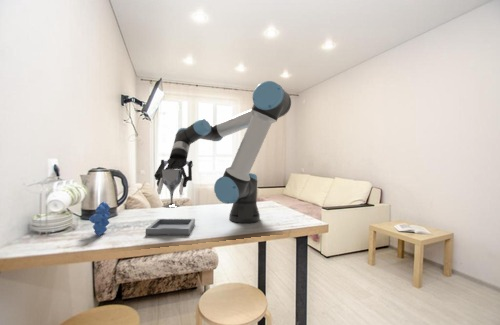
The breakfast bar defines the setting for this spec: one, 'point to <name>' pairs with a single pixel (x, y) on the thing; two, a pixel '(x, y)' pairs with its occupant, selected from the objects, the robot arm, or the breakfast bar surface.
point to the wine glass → (171, 183)
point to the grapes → (100, 218)
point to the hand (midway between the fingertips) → (169, 192)
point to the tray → (170, 227)
